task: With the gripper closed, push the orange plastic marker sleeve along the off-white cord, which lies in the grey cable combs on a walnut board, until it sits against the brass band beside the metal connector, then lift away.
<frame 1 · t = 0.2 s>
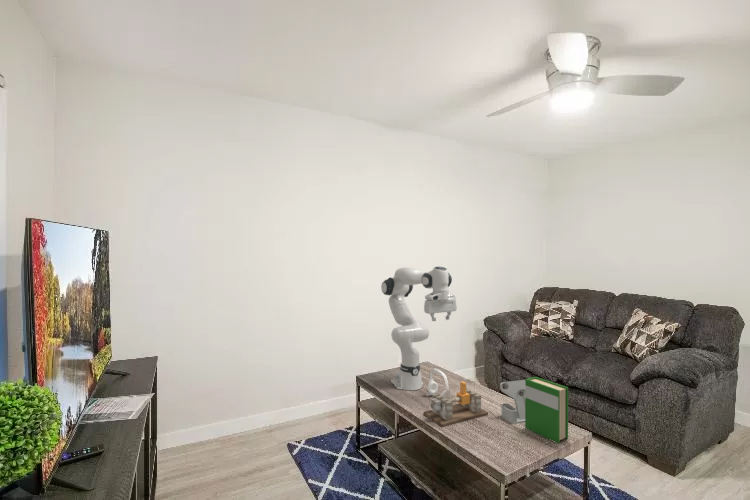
hand: (440, 320, 219), 47 cm above the table, tool pointing down, fingers open, 8 cm apart
marker sleeve: (463, 392, 208), point 11 cm above the table, slide at 0.0 cm
phone holder: (519, 418, 203), on the table
hardback book: (546, 433, 186), on the table
headset: (438, 401, 224), on the table
cord comb board: (455, 414, 206), on the table
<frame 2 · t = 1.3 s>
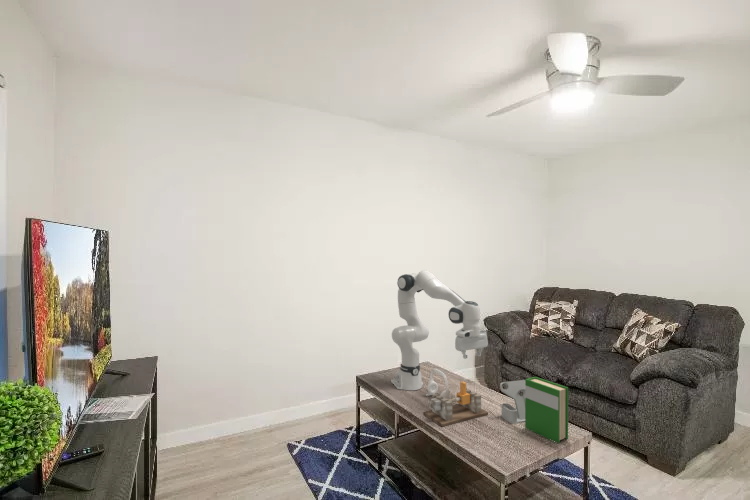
hand: (472, 357, 212), 29 cm above the table, tool pointing down, fingers open, 8 cm apart
nothing on the table moved.
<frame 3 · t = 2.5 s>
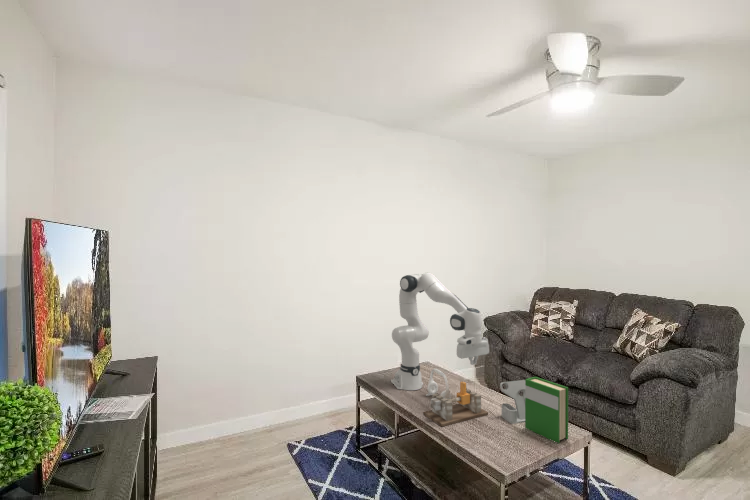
hand: (473, 364, 211), 25 cm above the table, tool pointing down, fingers closed
nothing on the table moved.
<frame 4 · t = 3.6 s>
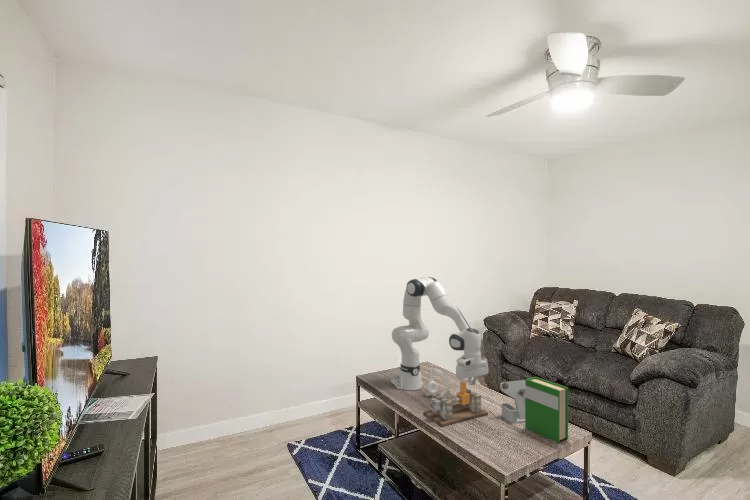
hand: (472, 384, 211), 14 cm above the table, tool pointing down, fingers closed
nothing on the table moved.
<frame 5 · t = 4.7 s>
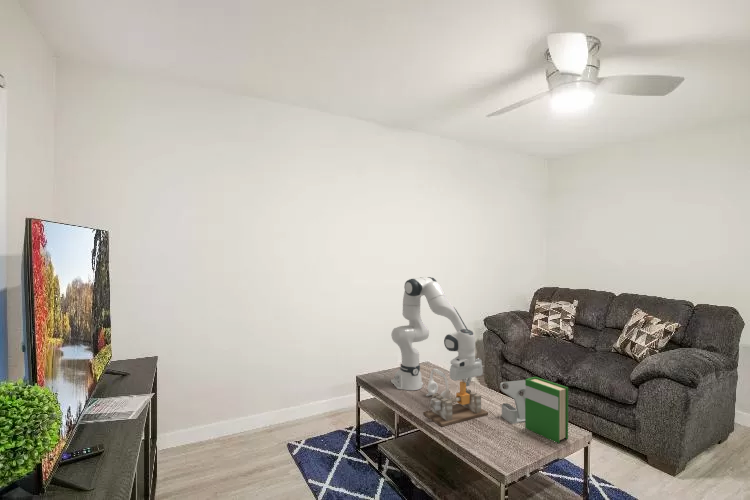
hand: (466, 385, 209), 14 cm above the table, tool pointing down, fingers closed
marker sleeve: (462, 392, 208), point 11 cm above the table, slide at 0.2 cm, touching gripper
everything else where it was.
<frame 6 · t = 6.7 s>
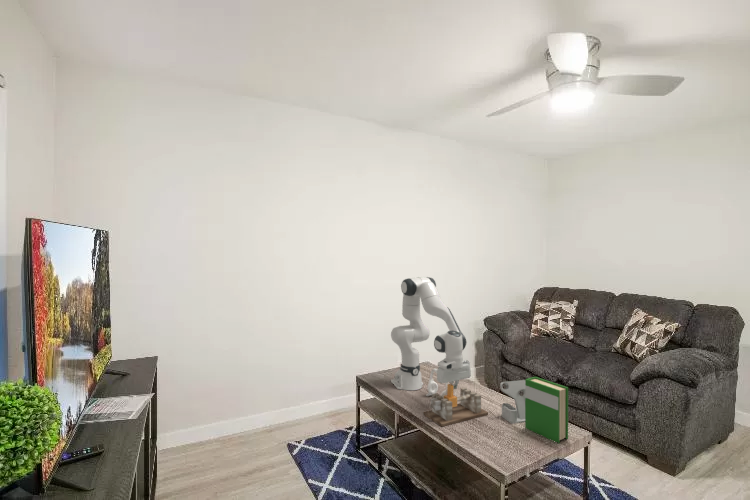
hand: (454, 388, 206), 14 cm above the table, tool pointing down, fingers closed
marker sleeve: (450, 395, 204), point 11 cm above the table, slide at 8.5 cm, touching gripper
everything else where it was.
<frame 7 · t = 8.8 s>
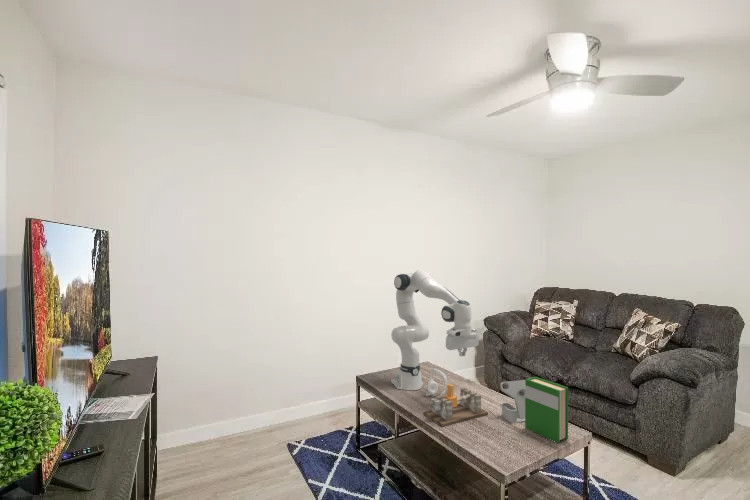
hand: (462, 355, 213), 29 cm above the table, tool pointing down, fingers closed
marker sleeve: (450, 395, 204), point 11 cm above the table, slide at 8.5 cm
everything else where it was.
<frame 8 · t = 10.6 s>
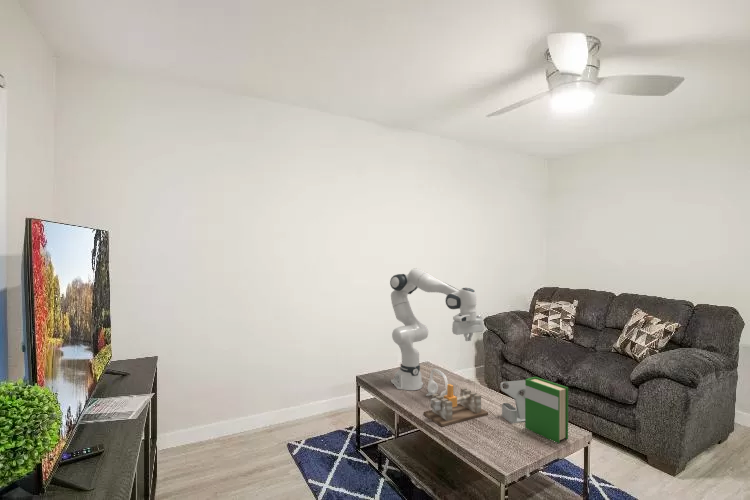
hand: (468, 340, 222), 35 cm above the table, tool pointing down, fingers closed
nothing on the table moved.
at the end: marker sleeve slide at 8.5 cm; the gripper is holding nothing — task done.
